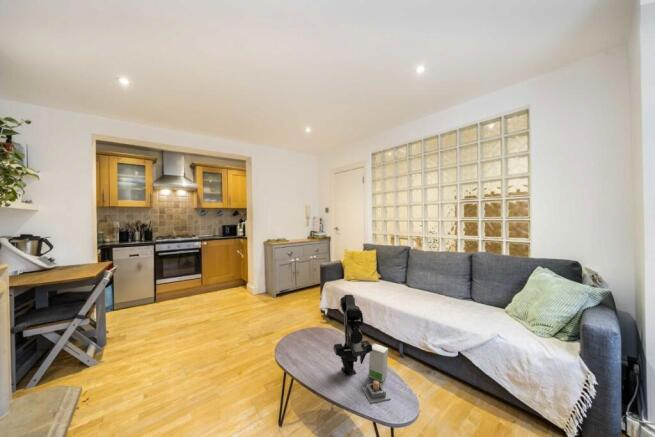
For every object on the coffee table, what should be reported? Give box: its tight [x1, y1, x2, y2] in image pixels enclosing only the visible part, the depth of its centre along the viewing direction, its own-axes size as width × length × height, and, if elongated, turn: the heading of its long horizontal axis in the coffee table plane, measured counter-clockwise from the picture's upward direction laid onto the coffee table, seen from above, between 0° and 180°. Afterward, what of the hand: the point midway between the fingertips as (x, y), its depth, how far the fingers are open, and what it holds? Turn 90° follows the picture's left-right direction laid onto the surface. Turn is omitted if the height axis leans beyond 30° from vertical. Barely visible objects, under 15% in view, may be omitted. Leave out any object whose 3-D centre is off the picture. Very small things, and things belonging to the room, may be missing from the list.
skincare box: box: [368, 343, 389, 383], centre depth 133 cm, size 8×7×16 cm
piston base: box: [362, 380, 391, 404], centre depth 120 cm, size 10×10×6 cm
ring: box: [365, 381, 387, 399], centre depth 120 cm, size 7×7×2 cm
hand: (352, 364), depth 123 cm, fingers open, 9 cm apart
